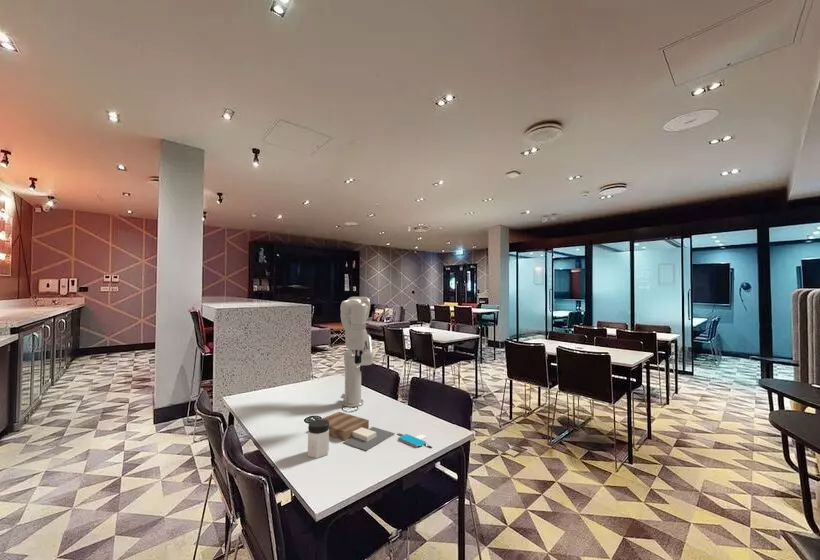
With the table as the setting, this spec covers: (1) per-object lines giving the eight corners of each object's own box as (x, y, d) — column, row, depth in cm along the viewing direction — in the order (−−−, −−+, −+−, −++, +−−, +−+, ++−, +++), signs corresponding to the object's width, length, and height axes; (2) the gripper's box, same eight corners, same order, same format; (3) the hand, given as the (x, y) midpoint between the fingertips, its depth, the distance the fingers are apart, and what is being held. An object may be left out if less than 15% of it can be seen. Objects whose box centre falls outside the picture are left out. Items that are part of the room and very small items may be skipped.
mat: (343, 443, 144) (343, 442, 144) (372, 427, 161) (372, 426, 161) (366, 451, 137) (366, 450, 137) (394, 434, 153) (394, 433, 153)
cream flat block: (352, 436, 150) (352, 431, 150) (361, 431, 155) (361, 427, 155) (367, 441, 145) (367, 436, 145) (376, 436, 150) (376, 432, 150)
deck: (314, 430, 157) (314, 421, 157) (338, 419, 170) (338, 411, 171) (344, 440, 146) (344, 431, 146) (368, 428, 159) (368, 420, 160)
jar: (302, 455, 133) (303, 425, 133) (315, 446, 140) (316, 418, 141) (321, 459, 130) (321, 428, 130) (333, 450, 137) (333, 421, 138)
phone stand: (441, 443, 145) (441, 440, 145) (423, 453, 136) (423, 449, 136) (407, 430, 159) (407, 427, 159) (389, 438, 150) (389, 434, 150)
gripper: (342, 326, 172) (342, 362, 171) (364, 328, 163) (364, 366, 163) (352, 325, 178) (352, 360, 177) (374, 327, 170) (373, 363, 169)
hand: (357, 363), depth 170 cm, fingers closed
